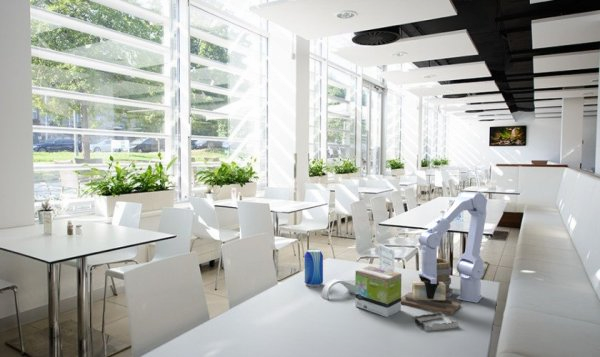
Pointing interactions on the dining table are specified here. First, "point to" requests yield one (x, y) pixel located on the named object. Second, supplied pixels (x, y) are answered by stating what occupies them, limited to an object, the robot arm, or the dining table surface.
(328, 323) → the dining table surface
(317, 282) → the beer can
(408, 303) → the walnut ledge
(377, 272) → the tea box
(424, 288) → the pale wooden bar
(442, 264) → the tankard
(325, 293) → the white curved piece
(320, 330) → the dining table surface
